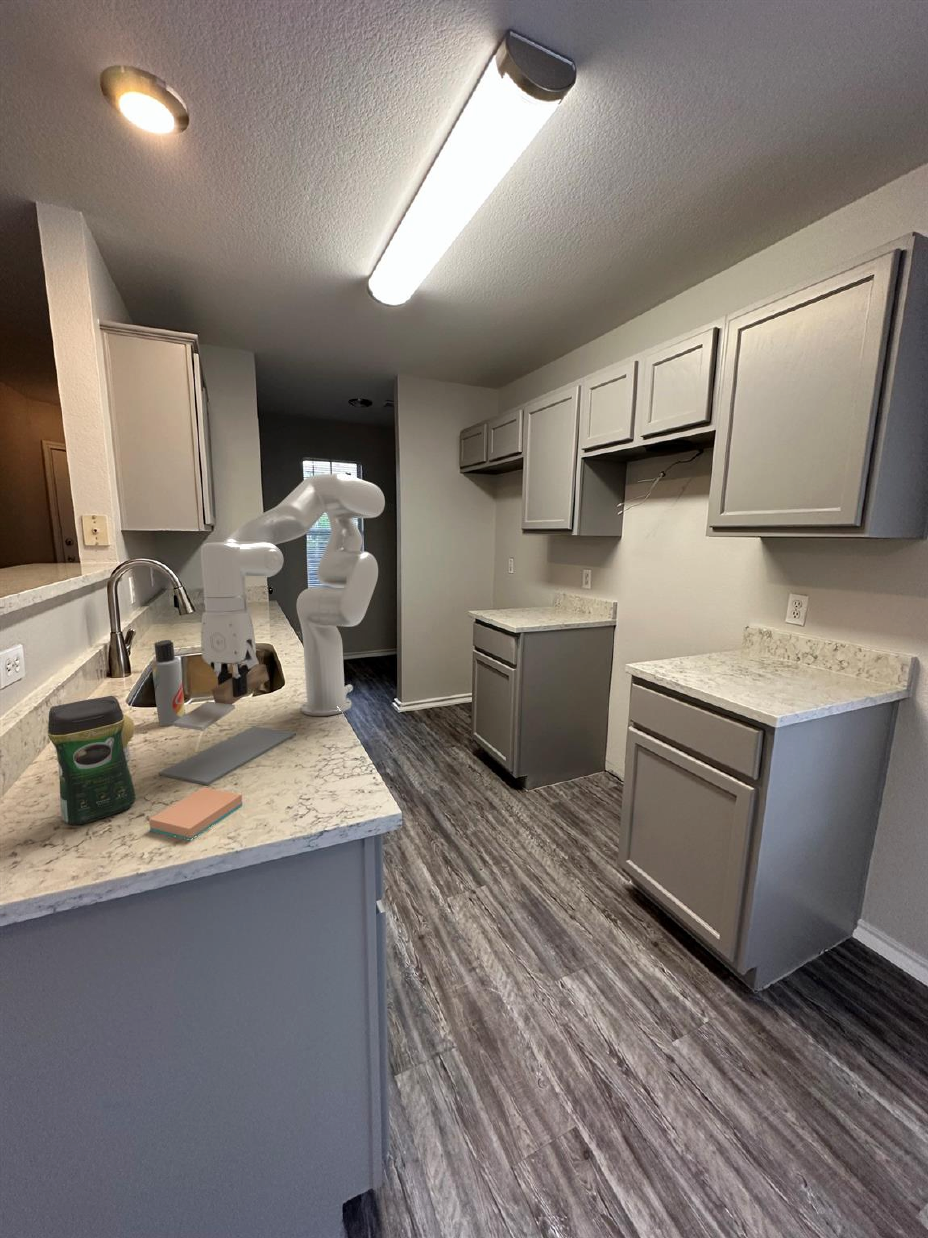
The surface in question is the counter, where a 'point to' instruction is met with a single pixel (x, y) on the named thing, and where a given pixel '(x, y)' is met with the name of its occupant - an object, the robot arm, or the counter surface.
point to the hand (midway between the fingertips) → (233, 693)
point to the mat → (227, 755)
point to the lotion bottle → (167, 684)
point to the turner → (221, 701)
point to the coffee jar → (91, 759)
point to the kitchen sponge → (195, 813)
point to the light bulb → (127, 734)
